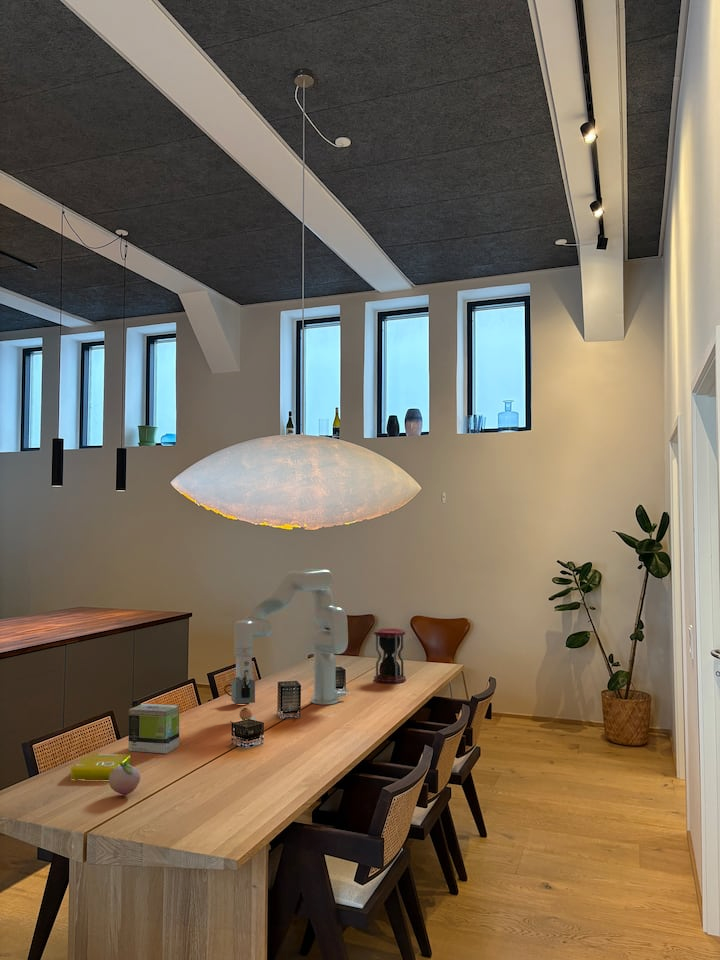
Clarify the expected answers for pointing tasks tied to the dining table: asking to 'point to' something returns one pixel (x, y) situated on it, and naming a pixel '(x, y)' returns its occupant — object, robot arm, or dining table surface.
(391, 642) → the hourglass
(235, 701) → the grey block
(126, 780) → the decorative fruit
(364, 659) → the dining table surface
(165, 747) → the tea box
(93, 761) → the element tile
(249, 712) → the ball
